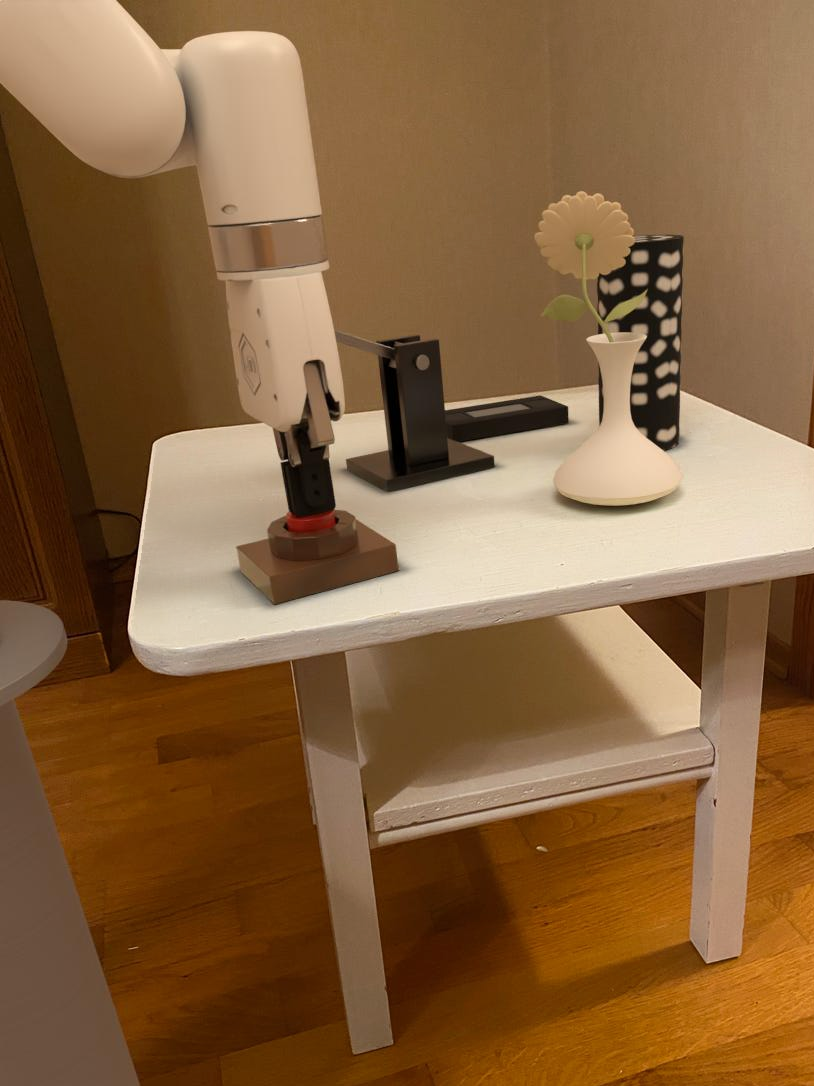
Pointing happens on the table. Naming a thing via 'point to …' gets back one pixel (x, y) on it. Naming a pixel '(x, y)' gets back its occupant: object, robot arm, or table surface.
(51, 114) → the robot arm
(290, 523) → the button
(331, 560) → the button block
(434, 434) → the bracket
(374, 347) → the lever
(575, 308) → the flower in vase
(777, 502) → the table surface
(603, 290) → the white-spotted black cylinder
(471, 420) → the vhs tape
